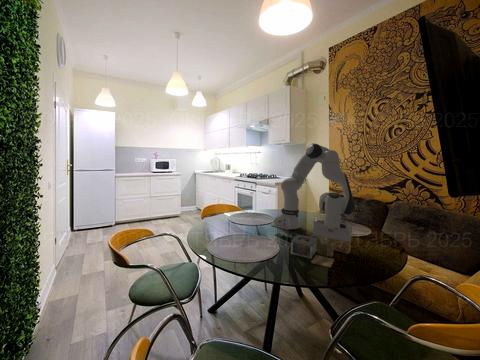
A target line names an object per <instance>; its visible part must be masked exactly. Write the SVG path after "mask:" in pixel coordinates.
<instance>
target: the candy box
mask: <svg viewBox="0 0 480 360" xmlns="http://www.w3.org/2000/svg"><path fill="white" fill-rule="evenodd" d="M349 228H350V229H351V236H352V234H353V233H352V231H353V227H351V226H349ZM339 244H341V240H336V239H334V249H333V251H336V252H340V253H343V254H346V255H349V253H351V248H352V247H351V246H352V240H351V241H350V242H347V241H344V243H343V244H342V247H341V248H339V247H338V245H339Z"/></svg>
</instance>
